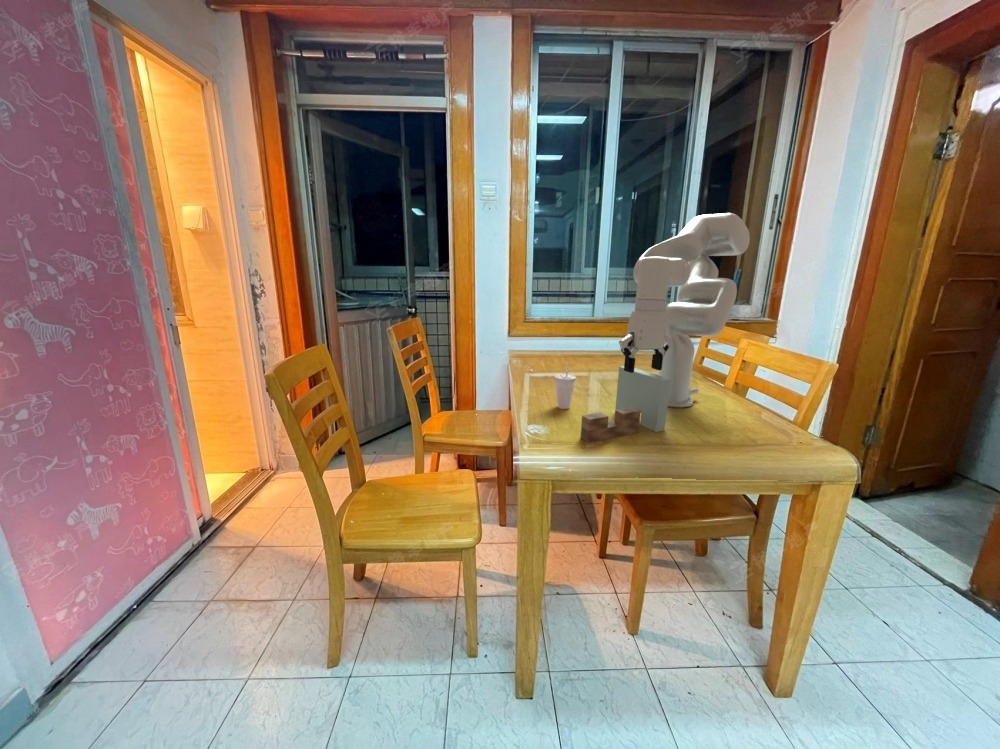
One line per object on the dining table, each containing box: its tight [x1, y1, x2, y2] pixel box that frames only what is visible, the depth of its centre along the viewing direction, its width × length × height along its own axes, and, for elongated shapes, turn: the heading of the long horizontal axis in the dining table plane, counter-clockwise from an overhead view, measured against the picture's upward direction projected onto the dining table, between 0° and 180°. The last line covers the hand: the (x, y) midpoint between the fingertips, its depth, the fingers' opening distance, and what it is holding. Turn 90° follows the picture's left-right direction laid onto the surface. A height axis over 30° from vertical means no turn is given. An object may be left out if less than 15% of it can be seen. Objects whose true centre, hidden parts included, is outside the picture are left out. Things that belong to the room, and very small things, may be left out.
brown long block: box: [580, 407, 641, 443], centre depth 102 cm, size 16×3×6 cm, turn 114°
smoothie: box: [554, 362, 577, 410], centre depth 122 cm, size 6×6×14 cm
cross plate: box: [614, 365, 671, 433], centre depth 111 cm, size 16×3×14 cm, turn 24°
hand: (642, 370), depth 109 cm, fingers open, 9 cm apart
